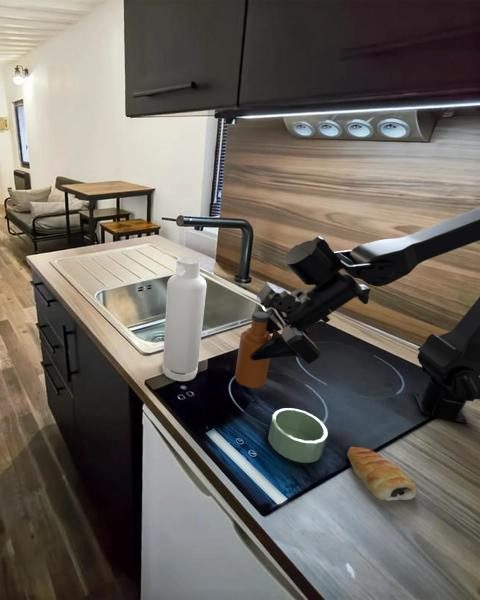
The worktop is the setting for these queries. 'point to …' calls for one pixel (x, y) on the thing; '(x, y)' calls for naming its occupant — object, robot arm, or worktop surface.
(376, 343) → the worktop surface
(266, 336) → the amber bottle
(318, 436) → the green bowl
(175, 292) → the bottle
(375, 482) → the pastry
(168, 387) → the worktop surface
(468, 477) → the worktop surface
